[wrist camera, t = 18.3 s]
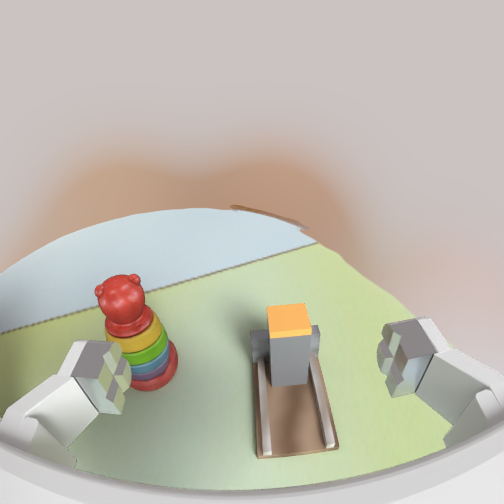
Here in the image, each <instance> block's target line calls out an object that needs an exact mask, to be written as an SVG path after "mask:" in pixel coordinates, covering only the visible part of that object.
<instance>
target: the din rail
mask: <svg viewBox="0 0 504 504" xmlns="http://www.w3.org/2000/svg"><path fill="white" fill-rule="evenodd" d="M311 327H312V332H311V345H310V357H309V368H308V378H307V384H300V385H291V386H281V387H272V382H271V372H270V361H269V340H268V330H258V331H251V346H252V356H253V369H254V391H255V413H256V435H257V456H258V459H262V458H276V457H287V456H296V455H304V454H312V453H318V452H325V451H331V450H337V449H338V448H339V443H338V438H337V434H336V429H335V425H334V421H333V417H332V412H331V408H330V404H329V400H328V396H327V392H326V387H325V383H324V379H323V375H322V371H321V367H320V364H319V360H318V351H319V342H320V331H319V328H318V325H313V326H311Z"/></svg>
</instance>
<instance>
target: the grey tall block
mask: <svg viewBox="0 0 504 504" xmlns="http://www.w3.org/2000/svg"><path fill="white" fill-rule="evenodd" d="M267 320H268V340H269V361H270V372H271V382H272V387H281V386H291V385H300V384H307V378H308V368H309V357H310V345H311V332H312V327H311V324H310V320H309V316H308V313H307V309H306V306H305V303H301V304H290V305H279V306H267Z"/></svg>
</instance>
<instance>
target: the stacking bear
mask: <svg viewBox="0 0 504 504" xmlns="http://www.w3.org/2000/svg"><path fill="white" fill-rule="evenodd" d="M140 281H141V280H140V277H139V276H138V275H136V274H131V275H129V276H128V275H116V276H113V277H110V278H108V279H107V280H105V281H104V282H103V283H102V285H98V286H97V287H96V288H95V295H96V296H97V297H98V303H99V306H100V308H101V310H102V312H103V313H104V315H105V316H106V320H105V334H106V339H107V342H117V343H119V344H120V346H121V348H122V350H123V351H122V354H121V356H122V357H124V358H125V359H126V360H127V361H128V363H129V365H130V368H131V383H130V386H131V387H132V388H134V389H137V390H141V391H152V390H156V389H158V388H161V387H163V386H164V385H166V384H167V383H168V382H169V381H170V380H171V379H172V377H173V376H174V374H175V371H176V368H177V364H178V355H177V351H176V348H175V346H174V344H173V343H172V342H171V341H169V340H168V337H167V333H166V331H165V329H164V327H163V325H162V323H161V322H160V320H159V319H158V317H157V315H156V314H155V313H154V312H153V311H152V310H151V308H150V307H148V306H147V305H145V295H144V291H143V288H142V286H141V285H140Z"/></svg>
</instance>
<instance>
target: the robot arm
mask: <svg viewBox="0 0 504 504" xmlns="http://www.w3.org/2000/svg"><path fill="white" fill-rule="evenodd" d="M382 335H383V338H384V339H383V340H382V341H381V342H380V343H379V345H378V349H377V362H378V366H379V368H380V371H381V372H382V373H384V374H385V375H387V379H386V381H385V383H386V386H387V388H388V390H389V393H390V395H391V398H395V397H400V396H404V395H408V394H412V393H415V395H417V396H418V397H419V398H420V399H421V400H423V401H424V402H425V403H426V404H428V405H429V406H430V407H431V408H432V409H434V410H435V411H436V412H437V413H438V414H440V415H441V416H442V417H443V418H445V419H446V420H447V421H448V422H449V423H451V424H452V425H453V426H452V427H451V428H450V430H449V431H448V432H447V433H446V434H445V436H444V438H443V441H444V443H445V446H446V448H444V449H442V450H439V451H437V452H434V453H432V454H429V455H426V456H423V457H421V458H418V459H415V460H412V461H409V462H406V463H403V464H399V465H396V466H393V467H389V468H386V469H382V470H379V471H375V472H371V473H367V474H363V475H358V476H354V477H349V478H345V479H339V480H334V481H329V482H323V483H316V484H309V485H302V486H293V487H283V488H271V489H254V490H205V489H187V488H175V487H166V486H157V485H150V484H143V483H136V482H131V481H125V480H120V479H115V478H110V477H105V476H101V475H97V474H93V473H89V472H85V471H81V470H78V469H75V466H76V463H77V459H76V457H75V456H74V455H73V454H72V453H70V452H69V451H68V450H67V449H66V448H67V447H68V446H69V445H70V444H71V443H72V442H73V441H74V440H75V439H76V438H77V437H78V436H79V435H80V433H81V432H82V431H83V430H84V429H85V428H86V427H87V426H88V425H89V424H90V423H91V422H92V421H93V420H94V419H95V417H96V416H97V415H98V414H99V413H98V412H100V413H109V414H119V415H121V414H122V410H123V407H124V404H125V400H126V397H125V395H124V392H125V391H126V390H127V389H128V388H129V387H130V383H131V368H130V365H129V363H128V361H127V360H126V359H125V358H124V357H122V356H121V354H122V351H123V350H122V348H121V346H120V344H119V343H117V342H107V341H93V340H90V341H89V340H76V341H75V342H74V343H73V345H72V347H71V349H70V351H69V353H68V354H67V356H66V358H65V360H64V362H63V364H62V366H61V368H60V370H59V372H58V374H57V375H56V374H53V375H52V376H50V377H49V378H48V379H46V380H45V381H44V382H42V383H41V384H40V385H38V386H37V387H35V388H34V389H33V390H31V391H30V392H29V393H27V394H26V395H25V396H23V397H22V398H21V399H19V400H18V401H16V402H15V403H14V404H12V405H11V406H10V407H8V408H7V410H6V412H5V414H4V416H3V418H2V419H1V418H0V504H504V375H502V374H501V373H499V372H497V371H495V370H493V369H491V368H490V367H488V366H486V365H484V364H483V363H481V362H479V361H477V360H475V359H473V358H471V357H470V356H468V355H466V354H464V353H463V352H461V351H459V350H457V349H455V348H454V349H451V348H450V346H449V345H448V343H447V342H446V340H445V339H444V337H443V336H442V334H441V333H440V331H439V330H438V328H437V327H436V326H435V324H434V323H433V321H432V320H431V319H430V317H428V316H424V317H419V318H414V319H409V320H404V321H398V322H393V323H387V324H385V325H384V327H383V330H382Z"/></svg>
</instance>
